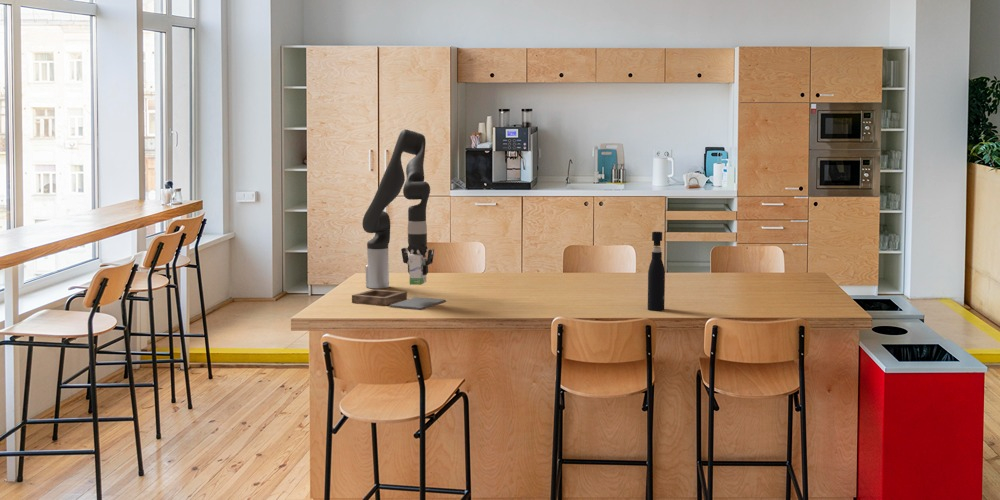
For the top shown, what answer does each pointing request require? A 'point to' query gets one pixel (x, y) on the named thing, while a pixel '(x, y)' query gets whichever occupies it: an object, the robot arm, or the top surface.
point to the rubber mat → (417, 303)
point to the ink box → (416, 270)
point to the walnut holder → (379, 297)
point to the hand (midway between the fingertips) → (417, 274)
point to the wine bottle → (656, 276)
